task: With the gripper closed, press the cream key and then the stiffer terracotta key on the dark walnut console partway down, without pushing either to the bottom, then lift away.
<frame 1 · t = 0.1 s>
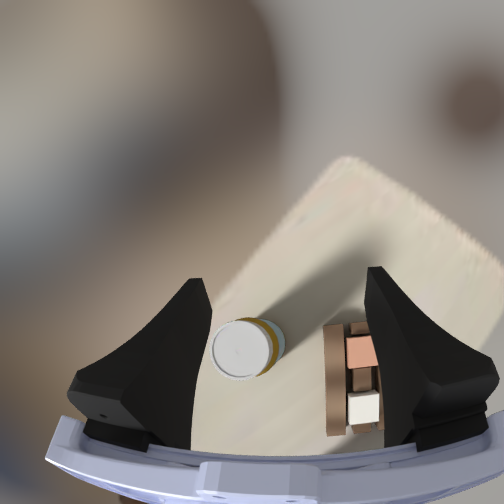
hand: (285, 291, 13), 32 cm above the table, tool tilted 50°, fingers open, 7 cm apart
terracotta key: (361, 351, 38), point 3 cm above the table, slide at 0.0 cm
console: (359, 376, 40), on the table
bottle: (261, 343, 44), on the table
cream key: (362, 407, 36), point 3 cm above the table, slide at 0.0 cm
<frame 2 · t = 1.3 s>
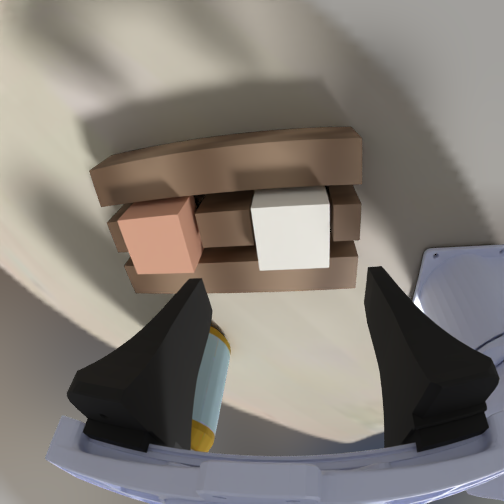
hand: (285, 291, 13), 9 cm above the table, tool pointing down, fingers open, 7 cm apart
terracotta key: (163, 233, 19), point 3 cm above the table, slide at 0.0 cm
console: (232, 207, 21), on the table
bottle: (197, 338, 30), on the table
cream key: (292, 225, 18), point 3 cm above the table, slide at 0.0 cm
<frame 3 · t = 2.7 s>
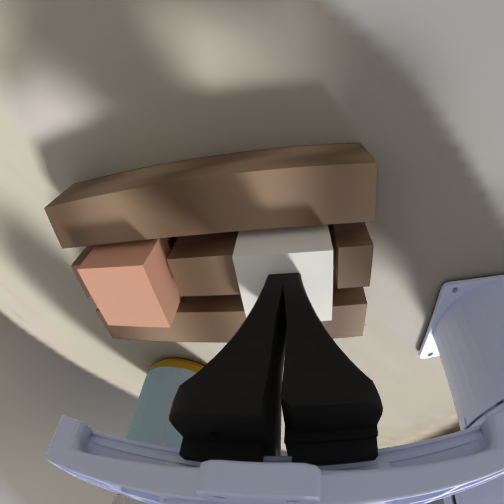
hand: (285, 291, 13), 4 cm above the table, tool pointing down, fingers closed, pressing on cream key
terracotta key: (133, 280, 16), point 3 cm above the table, slide at 0.0 cm
console: (215, 243, 17), on the table
bottle: (187, 375, 26), on the table
cream key: (286, 270, 14), point 3 cm above the table, slide at 0.2 cm, touching gripper
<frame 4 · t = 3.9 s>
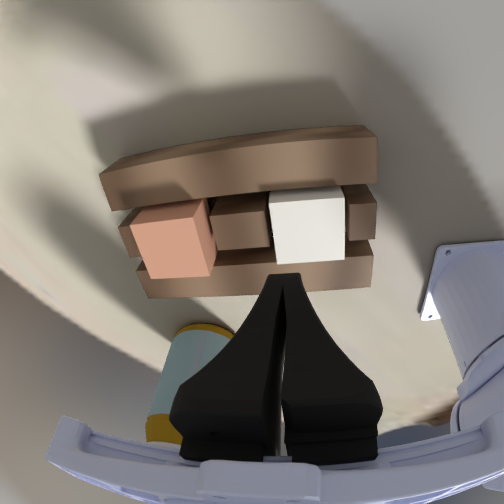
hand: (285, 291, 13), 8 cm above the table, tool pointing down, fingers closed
terracotta key: (177, 237, 19), point 3 cm above the table, slide at 0.0 cm
console: (245, 208, 21), on the table
bottle: (210, 341, 30), on the table
cream key: (307, 219, 18), point 2 cm above the table, slide at 0.8 cm
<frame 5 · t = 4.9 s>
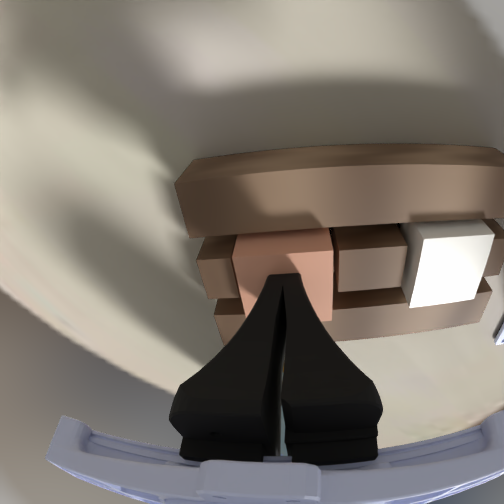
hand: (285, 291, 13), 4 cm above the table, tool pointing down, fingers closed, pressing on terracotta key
terracotta key: (286, 270, 14), point 3 cm above the table, slide at 0.4 cm, touching gripper
console: (360, 235, 16), on the table
cream key: (441, 254, 13), point 2 cm above the table, slide at 0.8 cm
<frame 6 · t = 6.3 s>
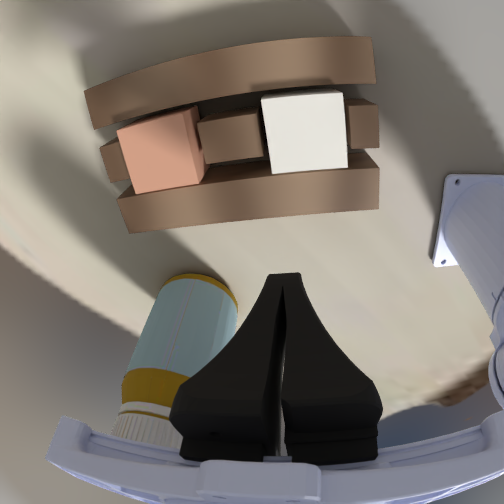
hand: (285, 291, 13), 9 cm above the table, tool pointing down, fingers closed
terracotta key: (165, 148, 17), point 2 cm above the table, slide at 0.7 cm
console: (237, 127, 18), on the table
bottle: (199, 298, 27), on the table
cream key: (304, 127, 16), point 2 cm above the table, slide at 0.8 cm
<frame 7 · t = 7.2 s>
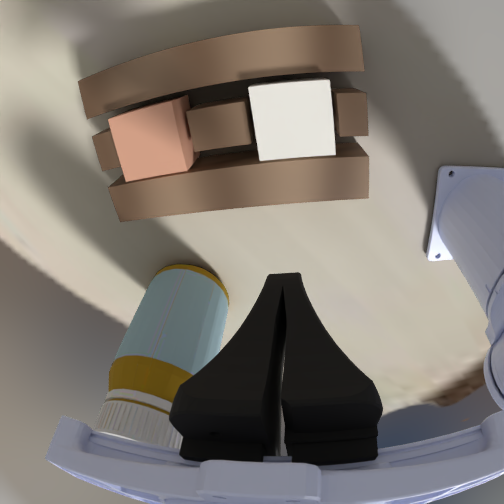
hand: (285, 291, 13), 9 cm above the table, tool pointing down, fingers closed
terracotta key: (156, 136, 17), point 2 cm above the table, slide at 0.7 cm
console: (227, 117, 18), on the table
bottle: (191, 289, 27), on the table
cream key: (292, 115, 16), point 2 cm above the table, slide at 0.8 cm
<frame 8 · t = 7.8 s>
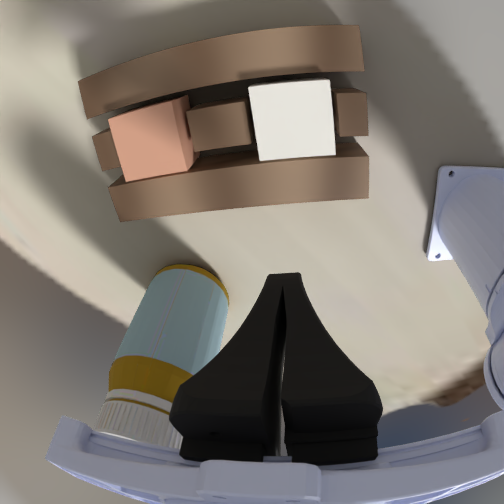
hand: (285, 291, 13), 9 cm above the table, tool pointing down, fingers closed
terracotta key: (156, 136, 17), point 2 cm above the table, slide at 0.7 cm
console: (227, 117, 18), on the table
bottle: (191, 289, 27), on the table
cream key: (292, 115, 16), point 2 cm above the table, slide at 0.8 cm
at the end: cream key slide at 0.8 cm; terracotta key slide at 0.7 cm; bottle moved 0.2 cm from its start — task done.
